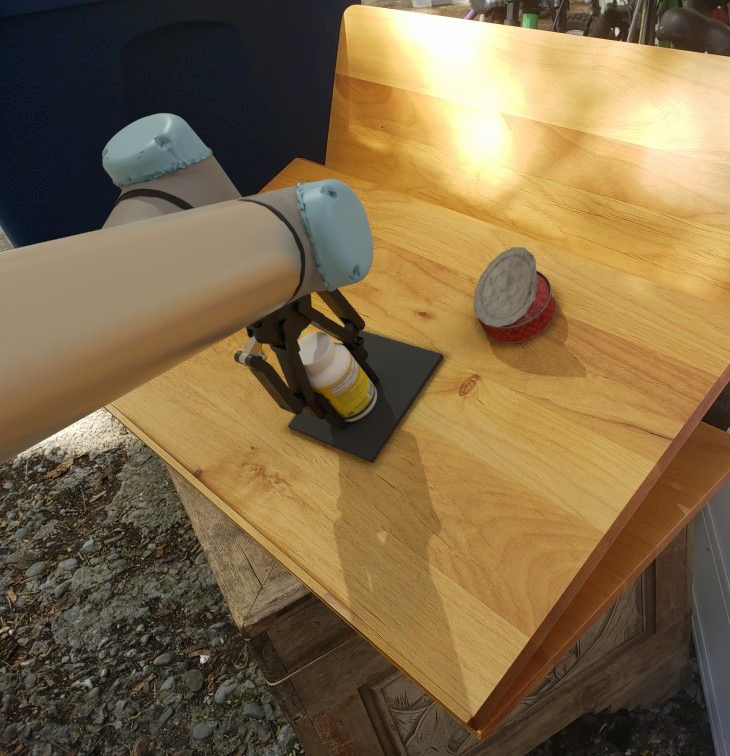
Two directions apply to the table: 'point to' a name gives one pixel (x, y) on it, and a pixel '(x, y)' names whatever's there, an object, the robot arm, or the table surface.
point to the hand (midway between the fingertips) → (354, 401)
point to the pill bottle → (337, 376)
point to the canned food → (514, 298)
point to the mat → (394, 397)
